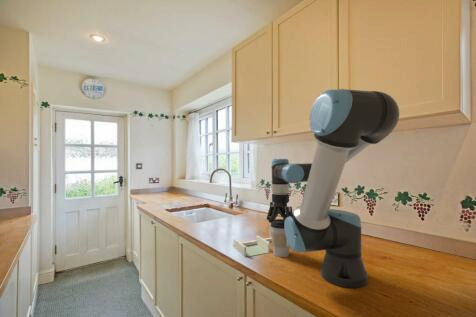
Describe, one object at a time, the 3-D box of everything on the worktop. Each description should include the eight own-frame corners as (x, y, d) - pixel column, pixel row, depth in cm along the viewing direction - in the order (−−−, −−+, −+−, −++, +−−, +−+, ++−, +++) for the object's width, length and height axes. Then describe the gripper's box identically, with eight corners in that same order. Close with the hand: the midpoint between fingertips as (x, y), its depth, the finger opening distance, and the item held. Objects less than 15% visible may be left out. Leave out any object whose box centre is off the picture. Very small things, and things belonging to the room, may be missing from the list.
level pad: (268, 252, 107) (268, 252, 107) (247, 256, 103) (247, 256, 103) (258, 245, 117) (258, 245, 117) (238, 249, 112) (238, 248, 112)
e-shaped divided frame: (291, 247, 114) (291, 239, 114) (244, 256, 104) (244, 247, 104) (276, 239, 126) (276, 231, 126) (232, 246, 116) (232, 238, 116)
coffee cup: (268, 255, 104) (267, 221, 104) (274, 249, 112) (274, 217, 112) (288, 259, 100) (287, 223, 100) (293, 252, 108) (293, 218, 108)
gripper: (305, 196, 96) (305, 249, 96) (272, 189, 119) (272, 231, 119) (290, 198, 93) (290, 252, 93) (259, 190, 116) (259, 233, 116)
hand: (280, 240), depth 106 cm, fingers open, 13 cm apart
